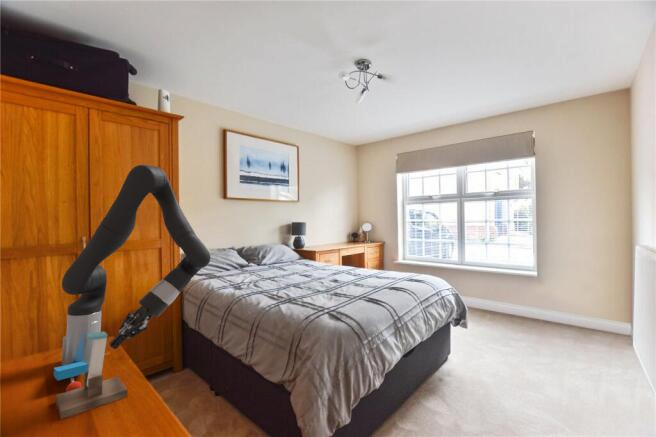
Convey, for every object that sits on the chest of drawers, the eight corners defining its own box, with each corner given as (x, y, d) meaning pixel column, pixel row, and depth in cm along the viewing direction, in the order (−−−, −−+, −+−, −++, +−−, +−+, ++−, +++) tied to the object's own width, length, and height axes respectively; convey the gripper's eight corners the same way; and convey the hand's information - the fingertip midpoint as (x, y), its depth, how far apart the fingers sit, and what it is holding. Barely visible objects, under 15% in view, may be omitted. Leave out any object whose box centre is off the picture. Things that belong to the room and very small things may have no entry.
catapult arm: (96, 383, 84) (104, 331, 86) (99, 388, 82) (107, 334, 83) (78, 387, 81) (87, 333, 83) (81, 392, 79) (89, 337, 80)
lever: (53, 391, 93) (58, 400, 81) (53, 367, 95) (58, 372, 83) (81, 383, 98) (90, 390, 86) (81, 361, 100) (90, 364, 87)
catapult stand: (117, 383, 91) (118, 359, 91) (127, 396, 84) (128, 371, 84) (55, 402, 80) (57, 376, 80) (61, 419, 74) (62, 391, 74)
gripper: (144, 286, 97) (95, 333, 88) (159, 294, 88) (106, 347, 79) (161, 300, 101) (116, 346, 92) (176, 308, 92) (128, 361, 83)
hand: (111, 347), depth 85 cm, fingers closed
